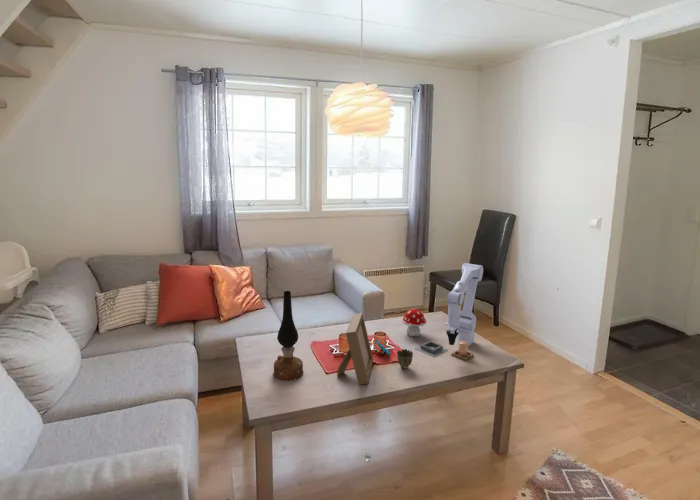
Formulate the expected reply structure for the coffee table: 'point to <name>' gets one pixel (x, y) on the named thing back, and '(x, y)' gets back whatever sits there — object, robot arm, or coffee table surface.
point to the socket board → (431, 348)
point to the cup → (404, 358)
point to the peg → (463, 349)
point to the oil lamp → (287, 345)
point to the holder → (469, 356)
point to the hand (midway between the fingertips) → (452, 341)
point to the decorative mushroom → (414, 321)
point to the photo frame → (358, 350)
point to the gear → (383, 348)
